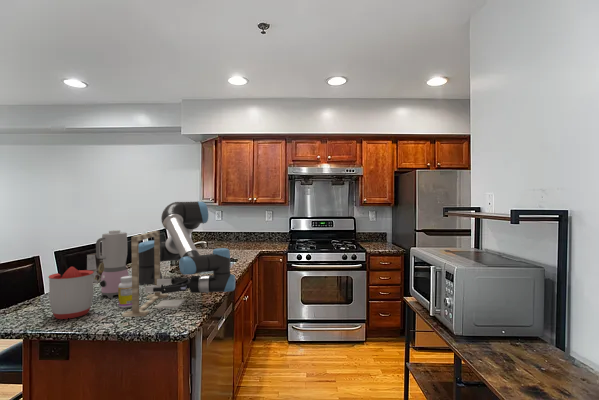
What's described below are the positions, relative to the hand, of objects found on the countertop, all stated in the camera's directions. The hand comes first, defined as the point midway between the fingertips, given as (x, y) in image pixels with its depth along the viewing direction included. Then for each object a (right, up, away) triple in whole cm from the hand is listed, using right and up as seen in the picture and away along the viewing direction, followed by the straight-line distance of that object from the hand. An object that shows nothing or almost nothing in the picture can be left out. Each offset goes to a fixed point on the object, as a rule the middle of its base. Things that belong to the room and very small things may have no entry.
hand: (151, 285), depth 154 cm
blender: (-27, -9, +18) cm, 34 cm away
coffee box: (-54, -10, +51) cm, 75 cm away
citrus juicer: (-28, -9, -12) cm, 32 cm away
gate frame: (-2, -9, 0) cm, 9 cm away
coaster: (+8, -9, +1) cm, 12 cm away
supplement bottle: (-11, -9, 0) cm, 14 cm away
